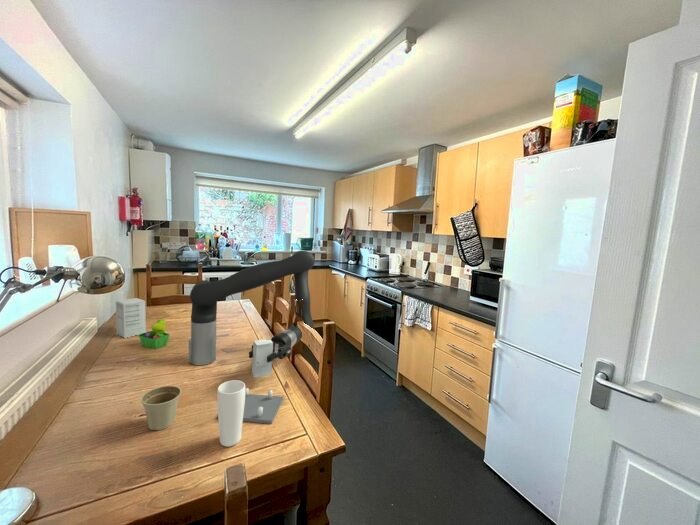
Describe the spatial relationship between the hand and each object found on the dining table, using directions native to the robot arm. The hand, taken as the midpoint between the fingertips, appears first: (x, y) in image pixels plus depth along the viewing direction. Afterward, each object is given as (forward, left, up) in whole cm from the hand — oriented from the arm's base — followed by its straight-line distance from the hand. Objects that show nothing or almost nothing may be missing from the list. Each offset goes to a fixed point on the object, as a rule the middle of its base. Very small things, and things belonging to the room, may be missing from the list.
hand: (258, 357), depth 99 cm
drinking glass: (+2, -25, -11) cm, 28 cm away
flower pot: (-19, -22, -11) cm, 31 cm away
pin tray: (+3, -12, -11) cm, 16 cm away
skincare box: (0, +2, -7) cm, 8 cm away
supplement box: (-78, +37, -11) cm, 87 cm away
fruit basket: (-58, +27, -11) cm, 65 cm away
